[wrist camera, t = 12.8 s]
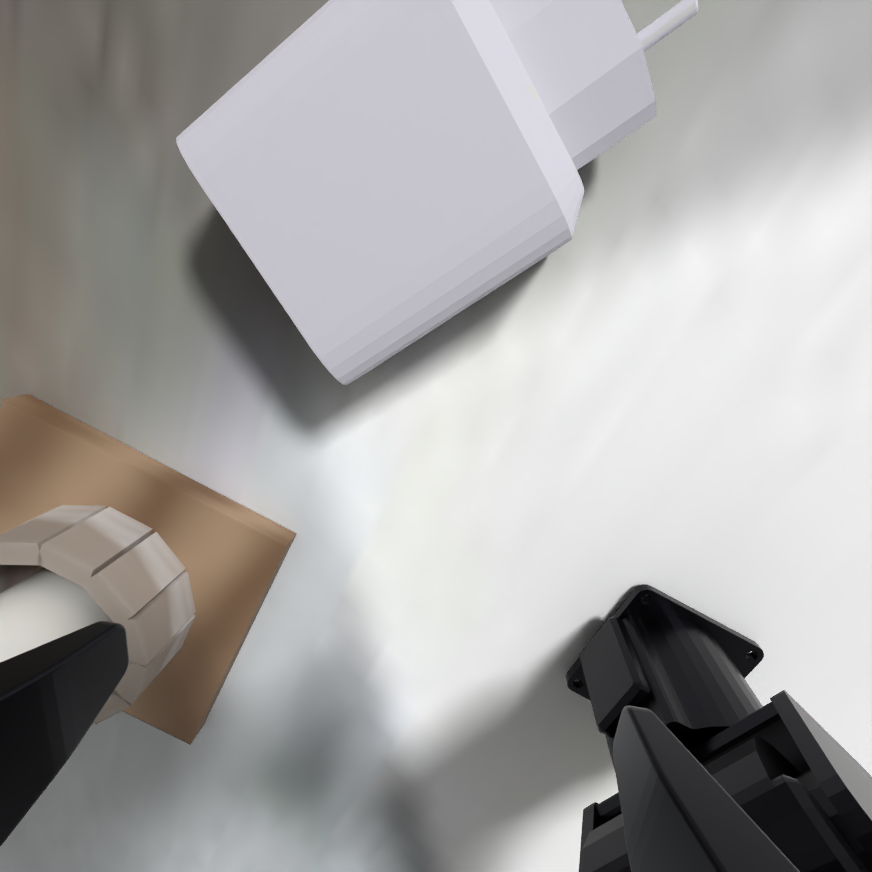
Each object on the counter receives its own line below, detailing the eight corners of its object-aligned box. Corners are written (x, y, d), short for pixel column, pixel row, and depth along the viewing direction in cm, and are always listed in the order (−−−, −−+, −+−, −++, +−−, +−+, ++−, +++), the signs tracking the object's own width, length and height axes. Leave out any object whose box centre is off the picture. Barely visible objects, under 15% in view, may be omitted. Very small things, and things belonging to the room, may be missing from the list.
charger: (712, 148, 17) (370, 369, 20) (588, -122, 15) (239, 170, 19) (794, 94, 12) (337, 391, 16) (632, -301, 11) (160, 130, 14)
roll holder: (296, 533, 23) (249, 592, 18) (203, 725, 27) (145, 811, 22) (28, 394, 22) (-90, 418, 18) (-26, 612, 26) (-131, 677, 22)
